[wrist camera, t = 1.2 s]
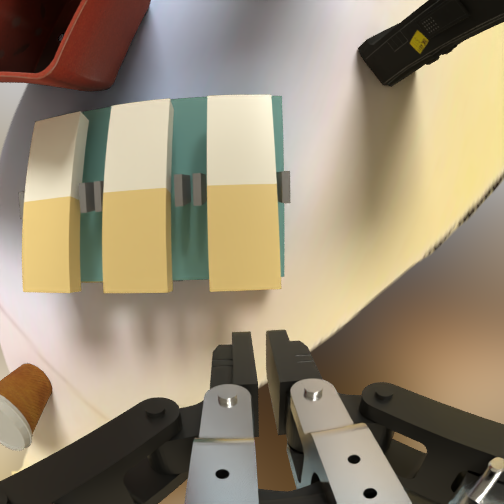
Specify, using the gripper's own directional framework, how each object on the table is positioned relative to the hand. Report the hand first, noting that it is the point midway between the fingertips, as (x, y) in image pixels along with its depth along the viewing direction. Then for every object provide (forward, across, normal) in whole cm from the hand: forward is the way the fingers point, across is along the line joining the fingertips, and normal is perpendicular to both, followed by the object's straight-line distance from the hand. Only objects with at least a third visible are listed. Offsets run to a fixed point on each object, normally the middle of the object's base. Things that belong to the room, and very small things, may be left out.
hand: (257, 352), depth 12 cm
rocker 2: (+14, +8, -6) cm, 17 cm away
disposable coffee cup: (+23, +32, +20) cm, 44 cm away
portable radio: (+23, -18, -22) cm, 37 cm away
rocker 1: (+14, +16, -6) cm, 22 cm away
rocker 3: (+13, 0, -6) cm, 14 cm away
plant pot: (+23, +18, -26) cm, 39 cm away
